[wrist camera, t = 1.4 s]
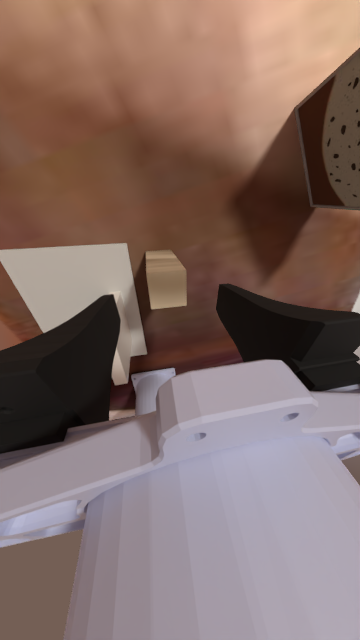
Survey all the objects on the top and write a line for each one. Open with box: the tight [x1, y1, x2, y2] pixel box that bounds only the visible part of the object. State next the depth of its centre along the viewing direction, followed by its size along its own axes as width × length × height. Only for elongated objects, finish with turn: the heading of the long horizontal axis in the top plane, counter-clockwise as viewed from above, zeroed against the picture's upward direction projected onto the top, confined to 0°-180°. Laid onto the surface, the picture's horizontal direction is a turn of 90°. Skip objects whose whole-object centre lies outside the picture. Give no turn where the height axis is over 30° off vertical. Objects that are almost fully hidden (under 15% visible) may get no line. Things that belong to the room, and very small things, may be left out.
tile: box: [108, 291, 132, 385], centre depth 20 cm, size 8×2×8 cm, turn 2°
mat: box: [0, 243, 147, 356], centre depth 22 cm, size 17×13×1 cm
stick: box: [146, 250, 186, 309], centre depth 17 cm, size 3×3×9 cm
